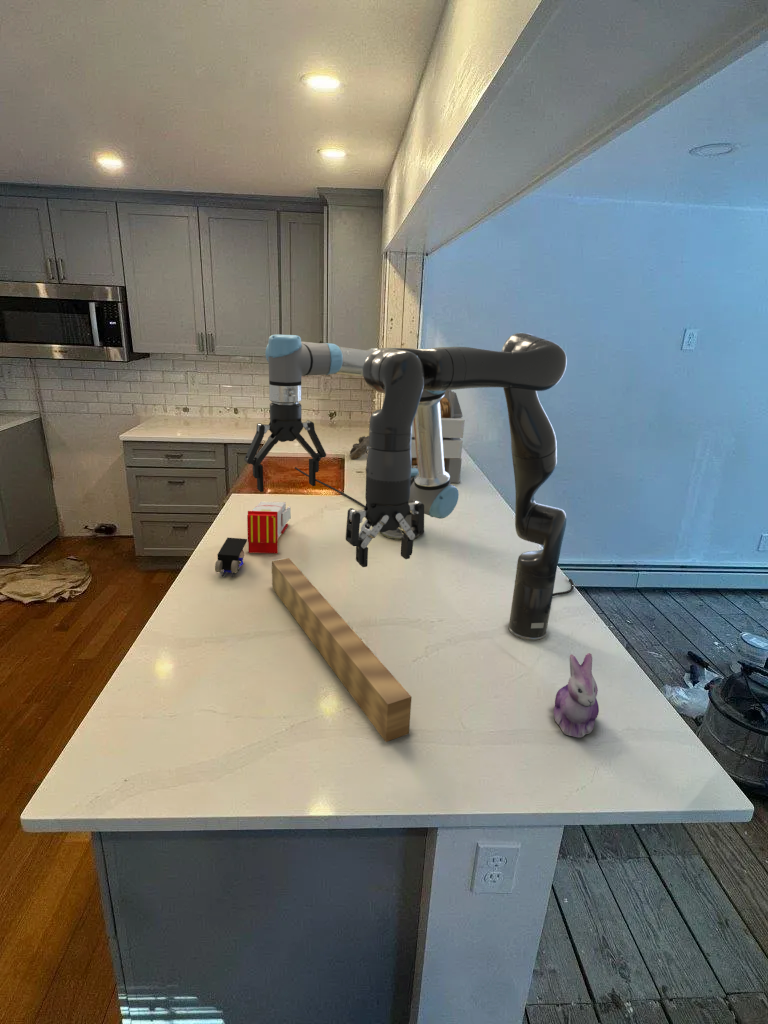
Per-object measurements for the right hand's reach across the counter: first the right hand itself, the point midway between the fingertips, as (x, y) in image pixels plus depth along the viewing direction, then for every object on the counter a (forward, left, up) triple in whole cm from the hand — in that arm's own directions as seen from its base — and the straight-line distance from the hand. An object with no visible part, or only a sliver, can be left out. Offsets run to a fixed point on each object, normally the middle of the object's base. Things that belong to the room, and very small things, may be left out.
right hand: (384, 561), depth 100 cm
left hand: (-26, -44, -1) cm, 51 cm away
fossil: (-169, -115, -33) cm, 207 cm away
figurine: (-19, +34, -33) cm, 51 cm away
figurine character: (-29, -69, -33) cm, 82 cm away
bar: (-13, -22, -33) cm, 41 cm away
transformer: (-158, -75, -33) cm, 178 cm away
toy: (-54, -77, -33) cm, 100 cm away
